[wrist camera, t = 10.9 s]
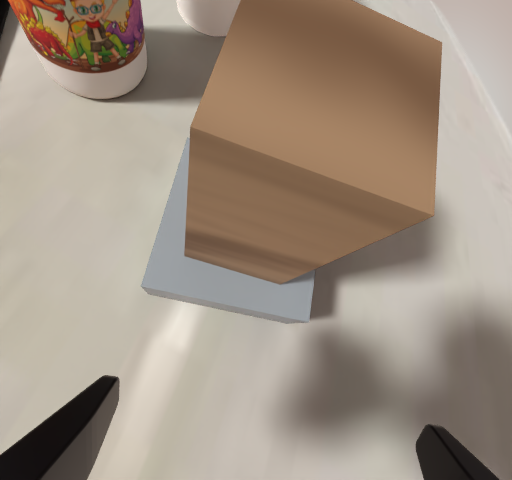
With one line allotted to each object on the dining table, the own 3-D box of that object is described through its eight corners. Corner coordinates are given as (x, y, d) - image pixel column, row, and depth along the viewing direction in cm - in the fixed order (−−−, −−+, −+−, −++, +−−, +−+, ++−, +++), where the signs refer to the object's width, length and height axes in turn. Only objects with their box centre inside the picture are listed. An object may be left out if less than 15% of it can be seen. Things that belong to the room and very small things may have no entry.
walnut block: (279, 284, 18) (434, 216, 7) (184, 256, 17) (190, 126, 6) (298, 199, 20) (442, 42, 9) (213, 170, 19) (257, -44, 8)
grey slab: (287, 323, 22) (309, 322, 18) (148, 294, 20) (140, 286, 16) (304, 201, 25) (326, 179, 21) (186, 167, 23) (187, 137, 20)
